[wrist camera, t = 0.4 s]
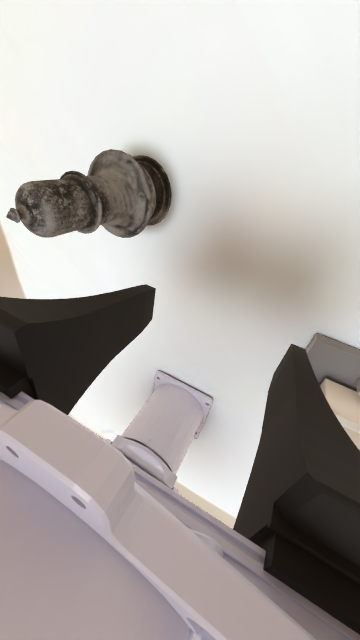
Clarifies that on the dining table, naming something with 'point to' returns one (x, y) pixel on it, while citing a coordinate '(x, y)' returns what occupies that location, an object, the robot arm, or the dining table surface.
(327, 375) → the comb rail
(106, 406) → the dining table surface
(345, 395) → the sleeve
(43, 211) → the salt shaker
